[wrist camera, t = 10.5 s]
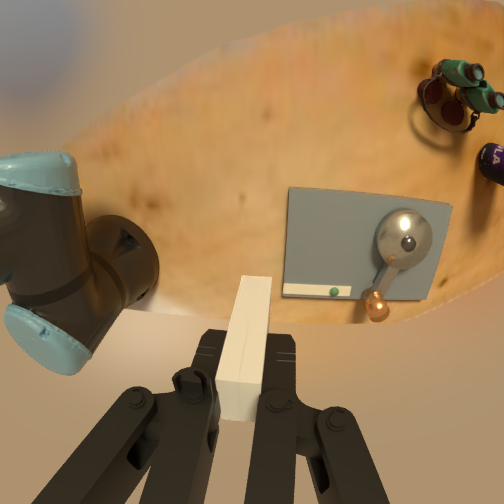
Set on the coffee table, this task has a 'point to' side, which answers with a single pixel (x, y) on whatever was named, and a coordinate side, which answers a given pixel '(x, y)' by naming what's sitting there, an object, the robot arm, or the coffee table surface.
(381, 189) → the coffee table surface
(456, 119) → the binoculars
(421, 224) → the cam lever
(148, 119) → the coffee table surface
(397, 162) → the coffee table surface
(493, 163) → the beverage can
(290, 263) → the level board
